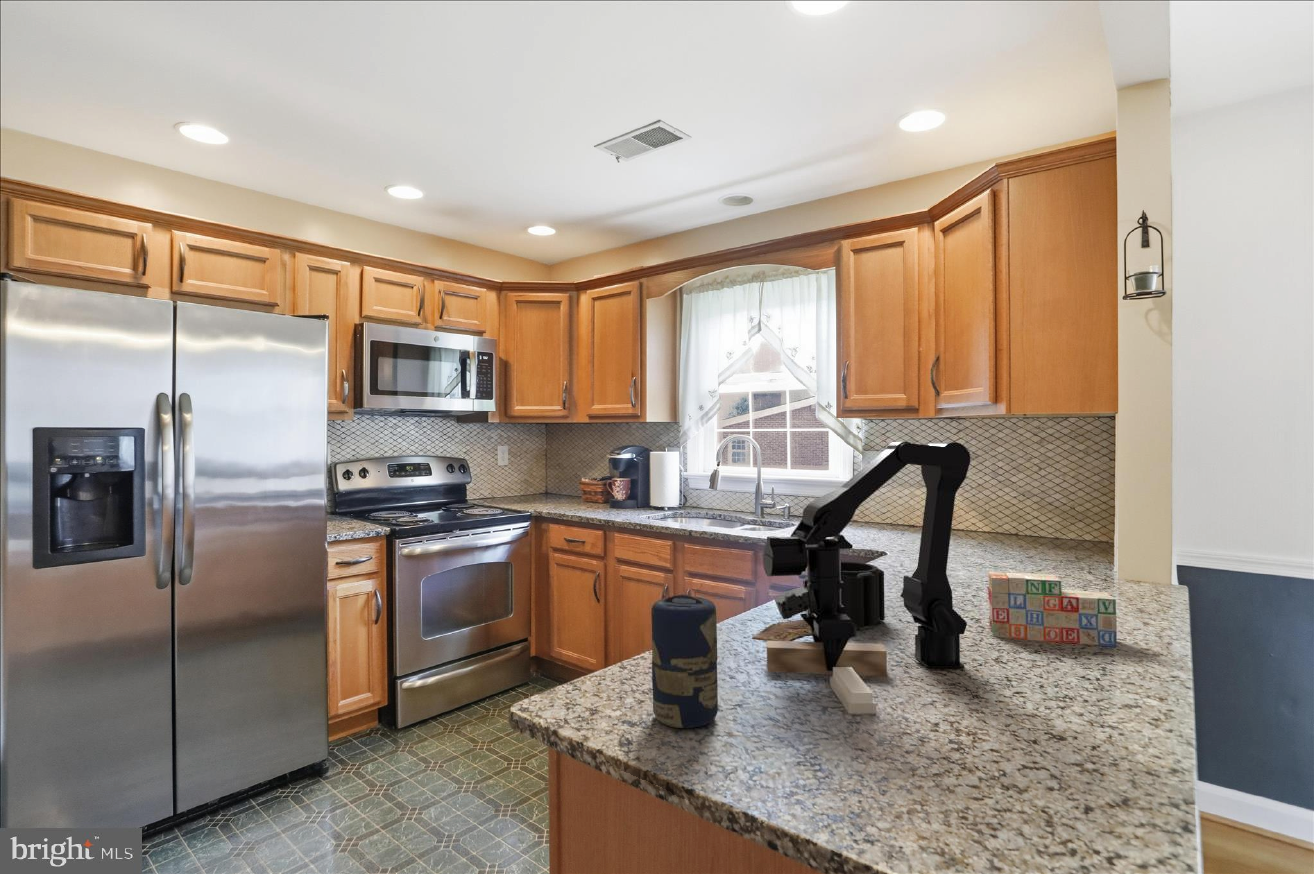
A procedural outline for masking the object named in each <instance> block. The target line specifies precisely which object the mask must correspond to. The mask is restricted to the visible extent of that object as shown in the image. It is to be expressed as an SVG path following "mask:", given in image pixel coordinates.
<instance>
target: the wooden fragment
mask: <svg viewBox="0 0 1314 874" xmlns="http://www.w3.org/2000/svg"><path fill="white" fill-rule="evenodd" d="M810 635H812V633H811V629H810V626H809V624H808V623H807V622H806V621H804V620H803V619H795V620H791V621H790V620H788V621H779V622H776V623H772V624H770V625H769V626H767V627H765V628H764V629H762V630H761V631H759V632H758V633H756V634H755V635H752V637H751V639H754V640H758V641H759V640H760V641H762V642H763V641H764V642H767V641H792V640H796V639H798V638H803V637H806V636H810Z"/></svg>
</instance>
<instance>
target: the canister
mask: <svg viewBox="0 0 1314 874" xmlns="http://www.w3.org/2000/svg"><path fill="white" fill-rule="evenodd" d="M650 614H651V615H650V616H651V655H652V656H651V680H652V681H651V682H652V685H651V687H652V710H653V711H652V712H653V715H654V716H655V718H656V720H658V721H659V722H660V723H662V724H664V725H665V726H668V727H672V728H676V729H677V728H679V729H687V728H688V729H689V728H690V729H691V728H697V727H703V726H705V725H708V724H710V723H711V722H712V721H714V720H715V719H716V717H717V714H718V712H719V698H718V697H719V696H718V695H719V694H718V693H719V692H718V689H719V688H718V626H717V608H716V605H715V603H714V602H713V601H712V600H710V599H708V598H705V597H700V596H693V595H689V594H683V593H681V594H675V595H672V596H668V597H665V598H660V599H659V600H657V601H655V602H654V603H653V604H652V607H651V613H650Z"/></svg>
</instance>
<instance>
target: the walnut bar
mask: <svg viewBox="0 0 1314 874" xmlns="http://www.w3.org/2000/svg"><path fill="white" fill-rule="evenodd" d="M887 653H888V652H887V650H886V648H885V647H884V645H883V644H882V643H863V642H862V643H859V642H858V643H857V642H856V643H855V642H847V644H846V646H845V648H844V650H843V652H842V654H841V656H840V658H839V660H838V662H837V664H836V666H835V667H852V669H853V670H854V671H855V672H856V673H857V675H858V676H867V677H868V676H869V677H870V676H872V677H875V676H876V677H888V663H887V662H888V659H887V657H888V654H887ZM766 669H767V670H766V671H767V672H769V673H787V674H788V673H791V674H792V673H793V674H814V675H815V674H816V675H817V674H819V675H833V671H827V669H826V664H825V659H824V653H823V647H822V642H814V641H796V640H795V641H792V640H790V641H766Z"/></svg>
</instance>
